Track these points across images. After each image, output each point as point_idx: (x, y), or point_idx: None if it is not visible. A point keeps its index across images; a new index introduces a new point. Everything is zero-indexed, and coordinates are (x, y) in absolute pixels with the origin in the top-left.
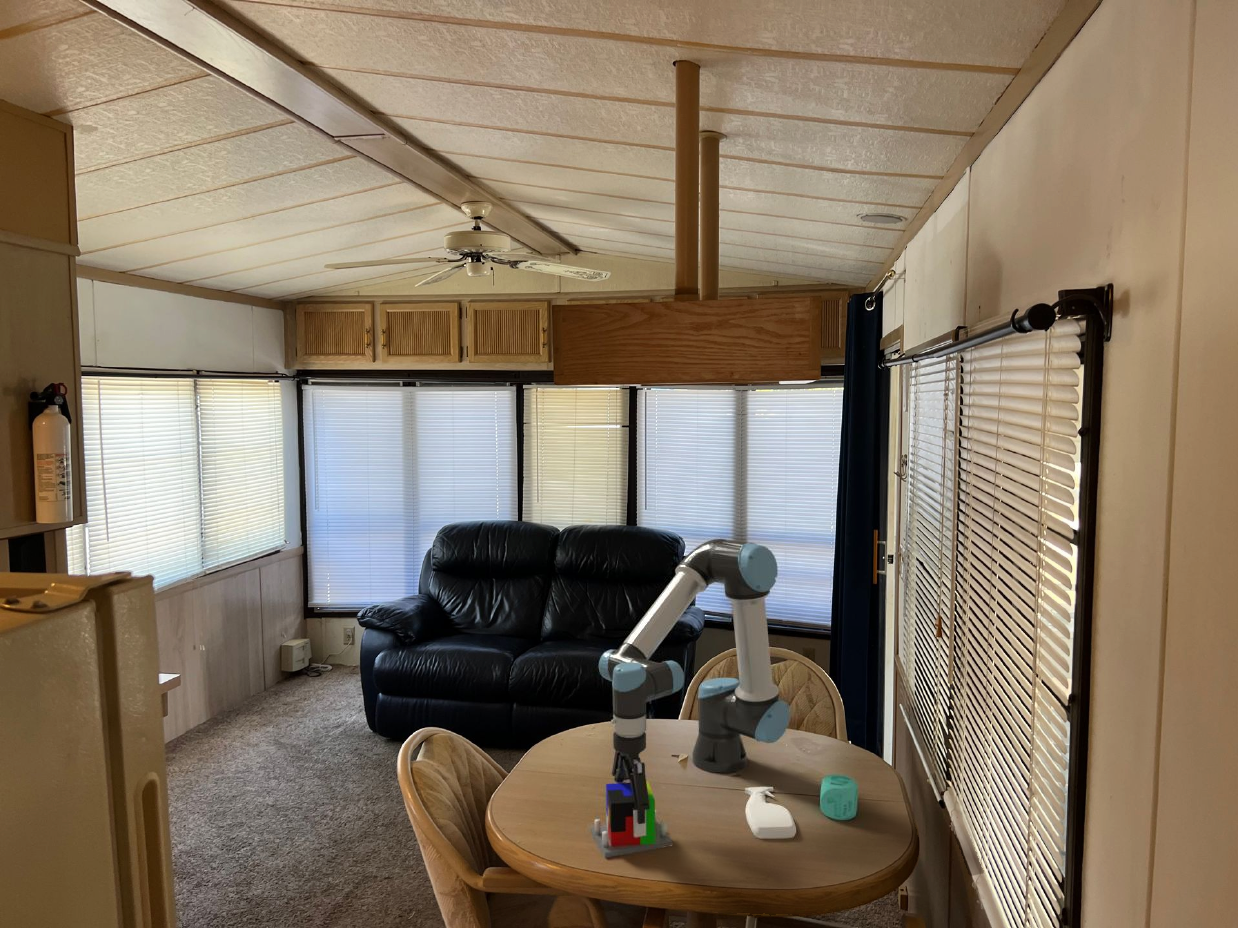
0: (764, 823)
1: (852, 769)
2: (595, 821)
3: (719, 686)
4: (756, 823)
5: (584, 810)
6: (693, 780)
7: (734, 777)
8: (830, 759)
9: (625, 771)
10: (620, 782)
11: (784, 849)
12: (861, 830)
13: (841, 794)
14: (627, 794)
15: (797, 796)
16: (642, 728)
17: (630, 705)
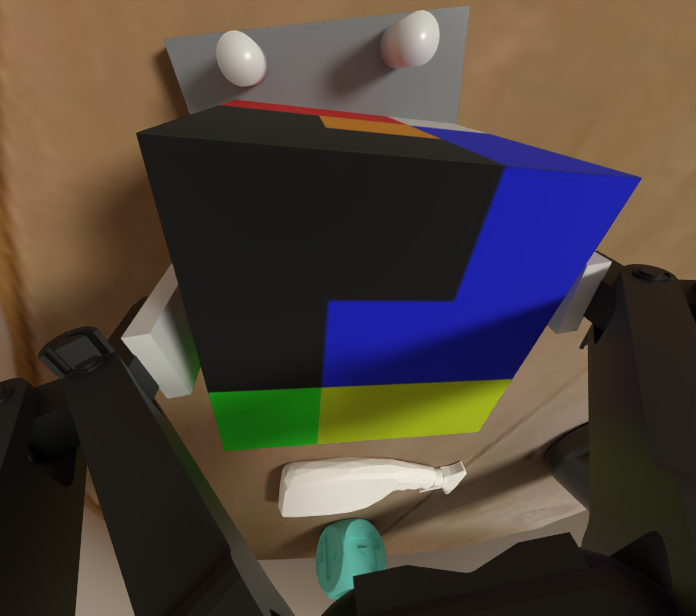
0: (302, 493)
1: (453, 536)
2: (409, 16)
3: None
4: (305, 485)
5: (669, 38)
6: (566, 403)
7: (524, 453)
8: (491, 525)
9: (601, 422)
10: (589, 296)
11: (238, 486)
12: (290, 538)
13: (326, 581)
14: (346, 328)
15: (412, 503)
16: None
17: None
